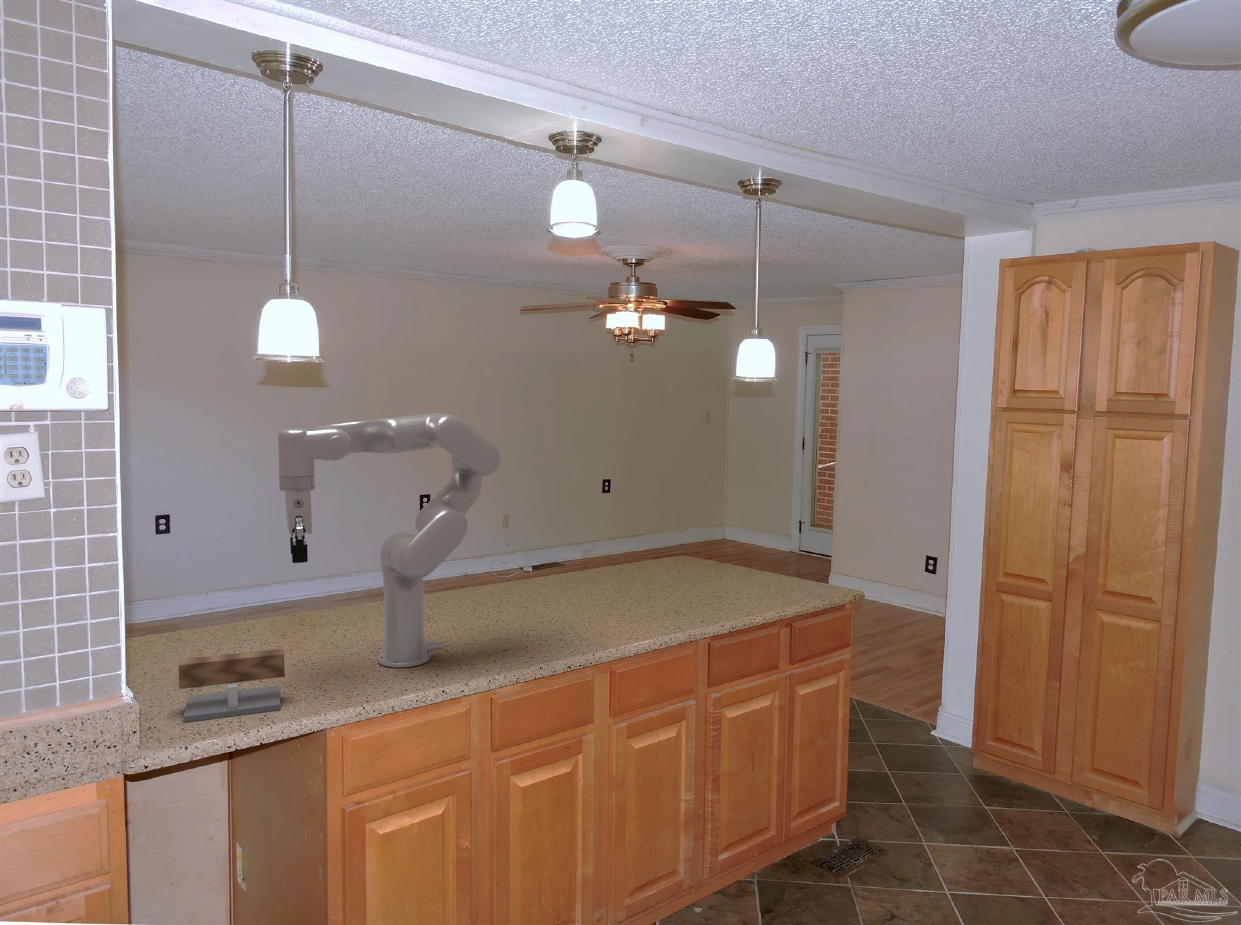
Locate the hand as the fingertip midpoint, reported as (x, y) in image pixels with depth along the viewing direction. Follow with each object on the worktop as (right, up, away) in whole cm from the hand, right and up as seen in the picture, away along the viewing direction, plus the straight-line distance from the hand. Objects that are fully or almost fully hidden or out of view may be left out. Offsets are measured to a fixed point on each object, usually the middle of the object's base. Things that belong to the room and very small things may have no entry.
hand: (299, 558), depth 192 cm
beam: (-8, -24, -14) cm, 29 cm away
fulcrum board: (-9, -30, -14) cm, 34 cm away
